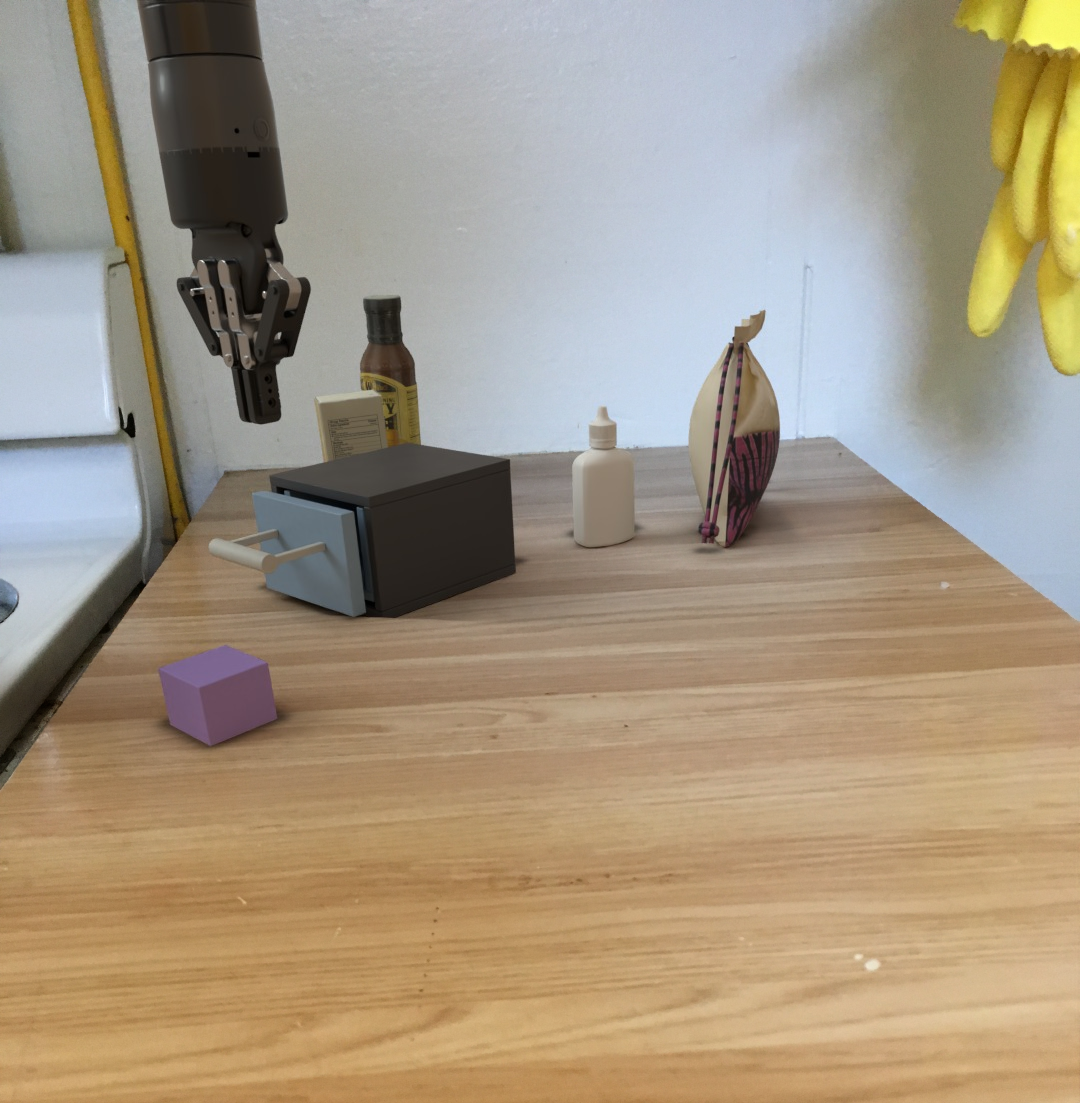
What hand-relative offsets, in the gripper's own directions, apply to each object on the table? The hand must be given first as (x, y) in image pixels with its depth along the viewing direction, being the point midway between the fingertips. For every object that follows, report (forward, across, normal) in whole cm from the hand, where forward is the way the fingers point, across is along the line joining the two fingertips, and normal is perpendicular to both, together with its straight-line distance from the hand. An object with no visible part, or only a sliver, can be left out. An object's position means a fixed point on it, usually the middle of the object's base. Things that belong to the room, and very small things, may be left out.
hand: (261, 421), depth 75 cm
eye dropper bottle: (+15, +6, +30) cm, 34 cm away
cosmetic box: (+15, -19, +22) cm, 33 cm away
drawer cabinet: (+15, 0, +11) cm, 19 cm away
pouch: (+15, +12, +42) cm, 46 cm away
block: (+15, +14, -14) cm, 25 cm away
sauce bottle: (+15, -29, +35) cm, 48 cm away
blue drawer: (+14, 0, +6) cm, 15 cm away
